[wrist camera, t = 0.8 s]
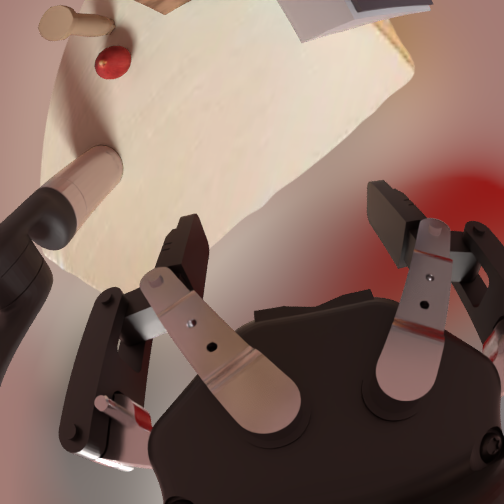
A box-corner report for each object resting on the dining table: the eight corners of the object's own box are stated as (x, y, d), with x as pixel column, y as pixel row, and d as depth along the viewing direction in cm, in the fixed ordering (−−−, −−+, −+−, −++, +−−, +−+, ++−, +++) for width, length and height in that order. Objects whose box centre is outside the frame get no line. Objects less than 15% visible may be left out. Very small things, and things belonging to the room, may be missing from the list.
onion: (105, 76, 33) (80, 81, 27) (111, 46, 30) (87, 46, 23) (134, 78, 34) (112, 82, 28) (141, 46, 31) (120, 44, 24)
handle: (104, 10, 25) (52, 1, 13) (128, 23, 27) (79, 13, 16) (88, 32, 27) (33, 32, 15) (111, 45, 29) (58, 46, 18)
